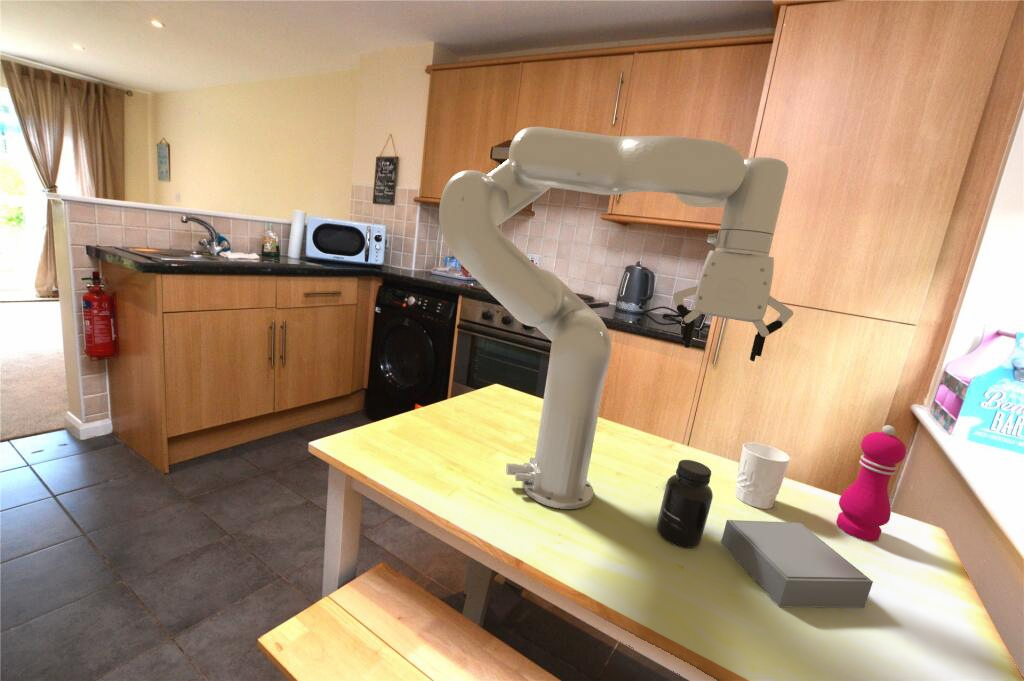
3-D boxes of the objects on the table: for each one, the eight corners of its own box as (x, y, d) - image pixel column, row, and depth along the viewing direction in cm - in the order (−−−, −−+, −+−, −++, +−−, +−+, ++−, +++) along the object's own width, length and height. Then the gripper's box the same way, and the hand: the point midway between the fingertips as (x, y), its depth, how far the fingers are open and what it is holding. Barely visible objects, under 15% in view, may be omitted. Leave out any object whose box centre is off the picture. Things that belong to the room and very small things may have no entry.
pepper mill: (869, 547, 77) (905, 436, 73) (824, 522, 83) (855, 418, 79) (890, 539, 80) (926, 432, 76) (845, 515, 86) (876, 416, 82)
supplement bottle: (654, 539, 71) (669, 468, 68) (657, 517, 77) (672, 451, 74) (701, 555, 68) (719, 482, 66) (701, 531, 74) (717, 464, 72)
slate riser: (779, 607, 60) (787, 579, 59) (721, 542, 72) (726, 519, 71) (864, 607, 62) (873, 580, 61) (793, 544, 74) (800, 521, 73)
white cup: (783, 515, 83) (797, 464, 81) (737, 505, 85) (750, 455, 83) (768, 493, 91) (781, 447, 89) (726, 485, 92) (738, 439, 90)
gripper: (680, 237, 71) (659, 344, 74) (811, 250, 63) (780, 369, 66) (688, 240, 77) (668, 339, 81) (806, 252, 69) (779, 361, 73)
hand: (719, 353), depth 74 cm, fingers open, 9 cm apart
